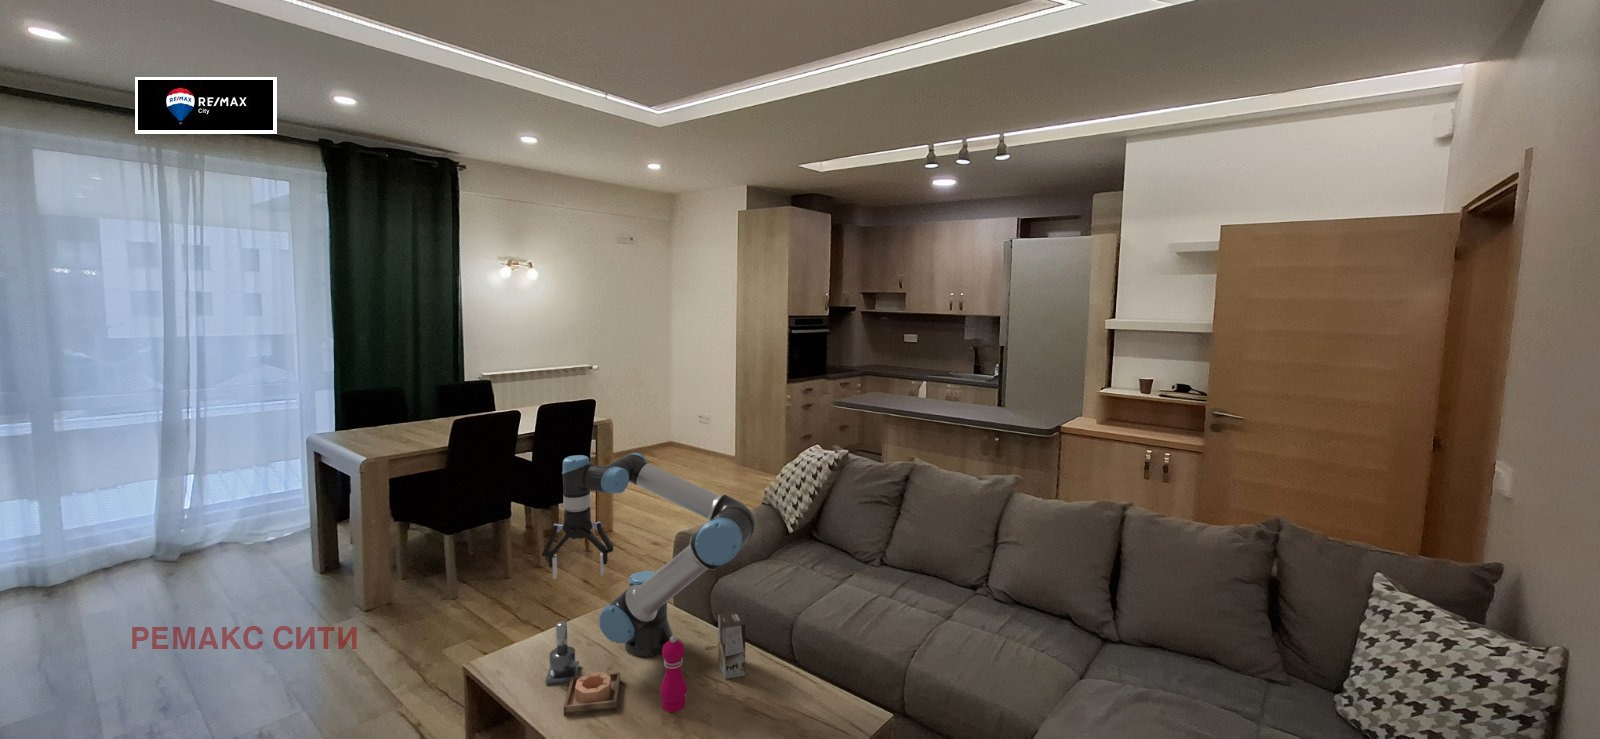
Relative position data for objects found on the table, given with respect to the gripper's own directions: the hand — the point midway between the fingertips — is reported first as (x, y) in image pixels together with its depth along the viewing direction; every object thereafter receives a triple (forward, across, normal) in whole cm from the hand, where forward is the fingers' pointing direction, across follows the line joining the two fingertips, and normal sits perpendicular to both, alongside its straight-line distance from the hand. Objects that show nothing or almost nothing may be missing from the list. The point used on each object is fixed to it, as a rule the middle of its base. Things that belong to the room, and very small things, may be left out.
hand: (579, 575), depth 191 cm
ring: (+26, -6, +20) cm, 33 cm away
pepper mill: (+27, -28, +27) cm, 47 cm away
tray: (+27, -6, +20) cm, 34 cm away
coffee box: (+27, -45, +13) cm, 54 cm away
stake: (+27, +4, +8) cm, 28 cm away
